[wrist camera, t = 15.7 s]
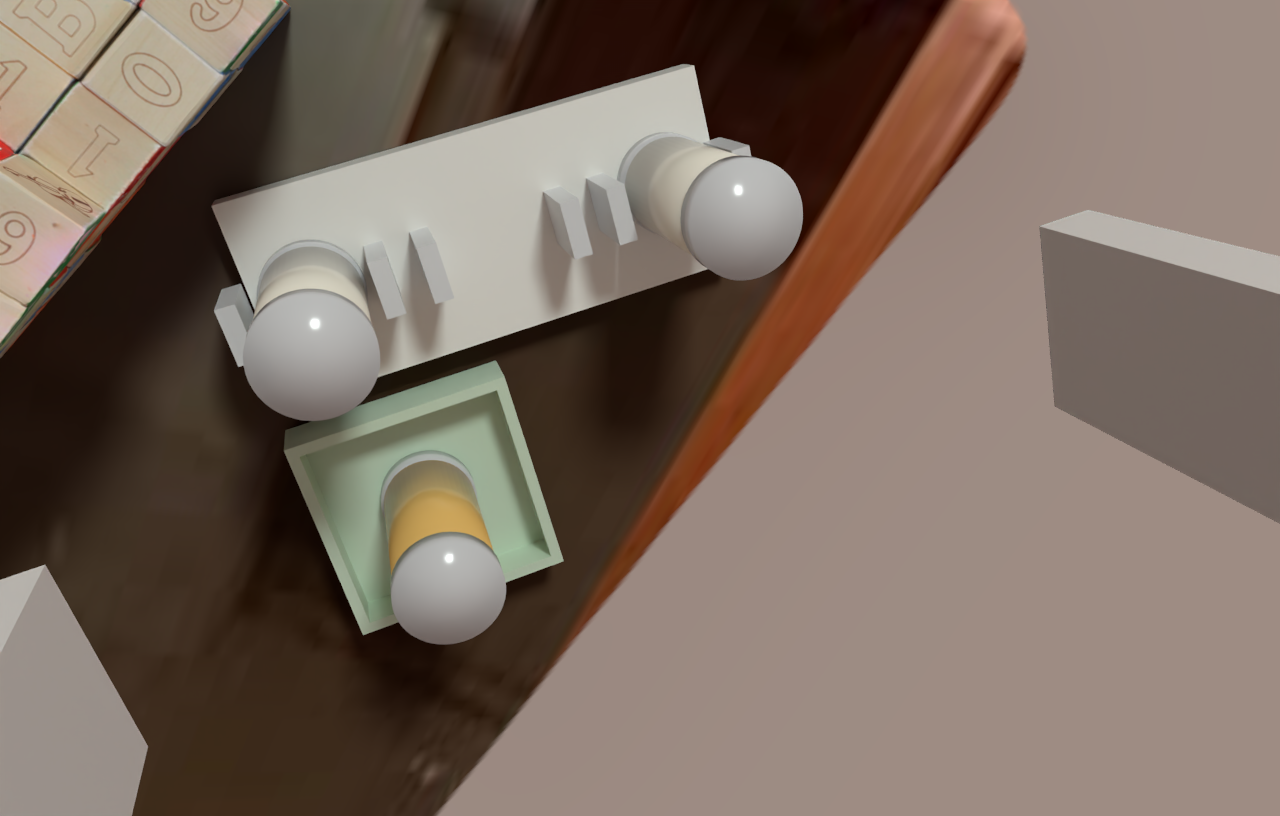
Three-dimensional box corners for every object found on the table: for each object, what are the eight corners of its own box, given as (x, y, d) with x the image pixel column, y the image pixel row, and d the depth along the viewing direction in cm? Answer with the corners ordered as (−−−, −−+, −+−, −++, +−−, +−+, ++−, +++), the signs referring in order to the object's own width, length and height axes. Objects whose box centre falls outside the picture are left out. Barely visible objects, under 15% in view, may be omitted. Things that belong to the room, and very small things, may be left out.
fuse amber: (366, 470, 48) (374, 568, 39) (456, 436, 49) (485, 526, 40) (400, 548, 50) (415, 661, 41) (486, 516, 50) (520, 618, 41)
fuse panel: (275, 399, 46) (270, 440, 42) (192, 206, 43) (178, 228, 38) (733, 250, 50) (774, 272, 46) (693, 61, 47) (733, 65, 42)
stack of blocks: (155, -117, 39) (90, -172, 28) (295, 8, 42) (286, 3, 30) (-192, 310, 40) (-385, 420, 29) (-36, 404, 43) (-159, 537, 32)
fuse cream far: (630, 243, 47) (703, 295, 38) (605, 147, 45) (677, 178, 36) (719, 215, 48) (812, 259, 39) (698, 120, 46) (791, 143, 37)
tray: (361, 608, 51) (362, 635, 49) (285, 430, 47) (283, 450, 45) (553, 538, 53) (563, 561, 50) (495, 360, 49) (504, 376, 46)
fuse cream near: (283, 355, 44) (274, 439, 35) (240, 259, 43) (220, 321, 34) (382, 321, 45) (399, 394, 36) (344, 225, 43) (352, 277, 34)
